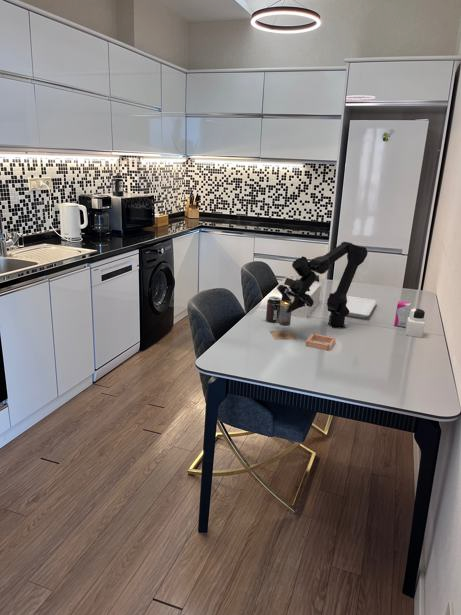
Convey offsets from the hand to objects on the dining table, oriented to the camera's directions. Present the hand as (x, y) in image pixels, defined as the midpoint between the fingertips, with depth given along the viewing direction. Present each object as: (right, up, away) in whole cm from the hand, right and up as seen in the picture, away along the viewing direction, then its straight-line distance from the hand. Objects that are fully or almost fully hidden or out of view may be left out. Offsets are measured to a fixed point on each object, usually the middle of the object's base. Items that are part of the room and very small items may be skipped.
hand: (283, 310), depth 197 cm
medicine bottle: (+62, -11, +17) cm, 66 cm away
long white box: (+16, +1, +47) cm, 50 cm away
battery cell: (+1, -6, +3) cm, 6 cm away
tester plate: (+1, -11, +4) cm, 12 cm away
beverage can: (-2, -6, +22) cm, 23 cm away
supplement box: (+60, -8, +28) cm, 67 cm away
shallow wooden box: (+15, -15, -4) cm, 22 cm away
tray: (+45, -1, +49) cm, 66 cm away
